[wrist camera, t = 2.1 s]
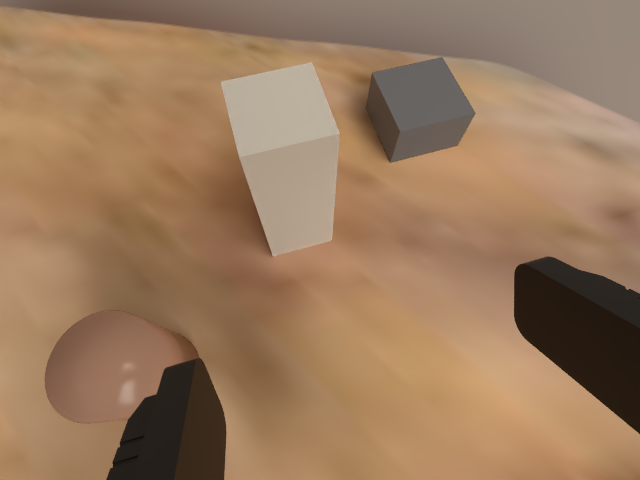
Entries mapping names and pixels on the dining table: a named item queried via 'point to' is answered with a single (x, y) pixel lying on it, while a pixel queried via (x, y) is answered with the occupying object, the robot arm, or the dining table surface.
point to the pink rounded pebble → (110, 365)
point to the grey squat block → (418, 109)
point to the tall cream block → (286, 153)
